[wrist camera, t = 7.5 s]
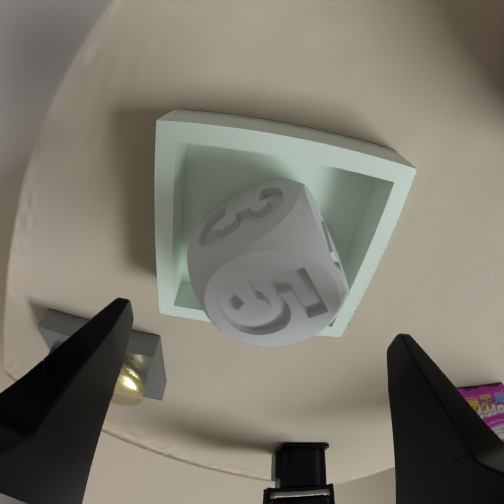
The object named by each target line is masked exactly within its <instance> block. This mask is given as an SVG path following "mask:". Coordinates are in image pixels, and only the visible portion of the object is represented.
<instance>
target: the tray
mask: <svg viewBox="0 0 504 504" xmlns="http://www.w3.org/2000/svg"><path fill="white" fill-rule="evenodd" d="M416 171H417V169H416V168H415V167H414V166H413V165H412V164H411V163H410V162H408V161H407V160H406V159H405V158H404V157H403V156H401V155H400V154H399V153H398V152H397V151H395V150H393V149H390V148H387V147H383V146H380V145H377V144H373V143H370V142H366V141H362V140H359V139H355V138H351V137H347V136H343V135H339V134H335V133H331V132H326V131H322V130H318V129H313V128H308V127H304V126H299V125H294V124H288V123H283V122H277V121H272V120H266V119H260V118H253V117H246V116H239V115H232V114H224V113H215V112H206V111H195V110H183V109H174V110H173V111H171V112H169V113H168V114H166V115H164V116H162V117H161V118H159V119H158V120H156V139H155V175H154V210H155V247H156V267H157V283H158V297H159V309H160V313H161V314H167V315H172V316H178V317H184V318H189V319H195V320H201V321H208V322H211V321H210V319H209V318H208V317H207V315H206V314H205V312H204V311H203V309H202V308H201V306H200V304H199V302H198V300H197V298H196V295H195V293H194V290H193V287H192V284H191V281H190V277H189V272H188V265H187V251H188V245H189V241H190V238H191V236H192V234H193V232H194V230H195V229H196V228H197V226H198V225H199V224H200V222H201V221H202V220H203V219H204V218H205V217H206V216H207V215H208V214H209V213H210V212H211V211H212V210H214V209H215V208H216V207H217V206H219V205H220V204H221V203H223V202H224V201H225V200H227V199H228V198H230V197H231V196H233V195H235V194H236V193H238V192H240V191H242V190H244V189H246V188H248V187H250V186H253V185H255V184H258V183H261V182H264V181H268V180H272V179H290V180H294V181H297V182H300V183H303V184H305V185H306V186H307V187H308V189H309V191H310V192H311V194H312V196H313V198H314V200H315V202H316V204H317V206H318V208H319V210H320V212H321V214H322V216H323V219H324V221H325V223H326V225H327V228H328V230H329V233H330V235H331V237H332V240H333V242H334V245H335V248H336V250H337V253H338V256H339V259H340V261H341V264H342V267H343V270H344V274H345V277H346V280H347V284H348V288H349V293H350V296H349V298H348V300H347V302H346V304H345V306H344V307H343V309H342V310H341V312H340V313H339V314H338V316H337V317H336V318H335V319H334V320H333V321H332V322H331V323H330V324H329V325H328V326H327V327H326V328H324V329H323V330H322V331H321V332H319V333H318V334H316V335H321V336H333V337H341V336H342V334H343V332H344V330H345V328H346V327H347V325H348V323H349V321H350V319H351V317H352V315H353V314H354V312H355V310H356V308H357V306H358V304H359V302H360V300H361V298H362V296H363V294H364V292H365V290H366V288H367V286H368V284H369V282H370V280H371V278H372V276H373V274H374V272H375V270H376V268H377V266H378V263H379V261H380V259H381V257H382V255H383V253H384V250H385V248H386V246H387V244H388V241H389V239H390V237H391V235H392V232H393V230H394V228H395V225H396V223H397V220H398V218H399V216H400V213H401V211H402V208H403V206H404V203H405V201H406V198H407V195H408V193H409V190H410V187H411V185H412V182H413V179H414V177H415V174H416Z"/></svg>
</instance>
